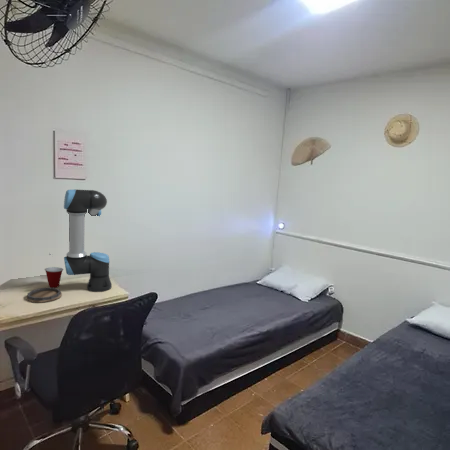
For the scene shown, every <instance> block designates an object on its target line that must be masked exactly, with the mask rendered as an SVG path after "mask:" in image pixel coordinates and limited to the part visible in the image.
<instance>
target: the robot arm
mask: <svg viewBox="0 0 450 450" xmlns="http://www.w3.org/2000/svg"><path fill="white" fill-rule="evenodd" d="M107 203H108V200H107V197H106V195H104V194H103V193H102V192H100V191H98V190H93V189H67V190H66V191H65V194H64V201H63V208H64V209H65V210H66V213H68V214H69V243H68V246H69V247H68V250H69V251H68V252H67V253H66V256H64V257H63V259H64V267H65V273H66V275H68V276H79V275H80V276H81V275H87V274H88V275H89V278H88V281H87V285H86V289H87V291H89V292H94V293H98V292H99V293H100V292H101V293H102V292H106V291H109V290H111V289H112V285H113V284H112V281H111V278H110V256H109V255H108V254H107V253H104V252H98V251H97V252H95V251H94V252H90V253H89V255H87V254H88V253H87V252H86V251H85V222H86V221H85V214H86V213H87V209H88V213H89V214H90V215H91V216H96V215H97V216H99V217H101V216H102V210H103V209H105V208H106V206H107ZM100 215H101V216H100ZM48 255H49V256H50V255H51V254H50V253H49V254H48Z"/></svg>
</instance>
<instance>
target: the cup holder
mask: <svg viewBox="0 0 450 450" xmlns="http://www.w3.org/2000/svg"><path fill="white" fill-rule="evenodd" d="M62 296H63V294H62V291H61V290H60V289H59V288H58V287H56V288H50V287H41V288H36V289H32V290H30V291H29V292H28V293H27V295H26V301H27V302H29V303H33V304H45V303H46V304H47V303H51V302H54V301H57V300H60V299H61V298H62Z"/></svg>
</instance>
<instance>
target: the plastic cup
mask: <svg viewBox="0 0 450 450" xmlns="http://www.w3.org/2000/svg"><path fill="white" fill-rule="evenodd" d="M44 271H45V273H46V279H47V283H48V288H58V287H60V282H61V278H62V274H63V273H62V272H63V271H64V268H63V267H60V266H58V267H57V266H50V267H46V268H44Z"/></svg>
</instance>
